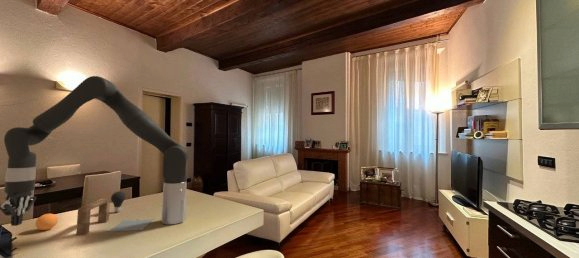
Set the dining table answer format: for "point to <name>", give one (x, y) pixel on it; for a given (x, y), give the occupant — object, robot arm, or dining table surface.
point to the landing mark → (131, 225)
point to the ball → (46, 221)
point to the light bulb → (118, 200)
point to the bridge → (84, 215)
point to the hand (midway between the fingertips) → (16, 224)
